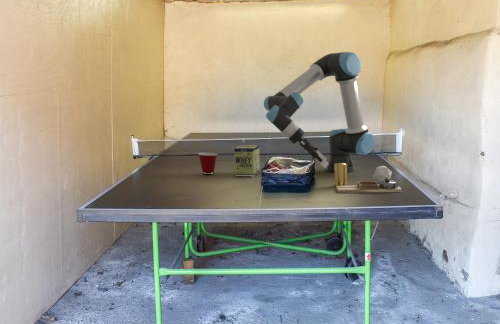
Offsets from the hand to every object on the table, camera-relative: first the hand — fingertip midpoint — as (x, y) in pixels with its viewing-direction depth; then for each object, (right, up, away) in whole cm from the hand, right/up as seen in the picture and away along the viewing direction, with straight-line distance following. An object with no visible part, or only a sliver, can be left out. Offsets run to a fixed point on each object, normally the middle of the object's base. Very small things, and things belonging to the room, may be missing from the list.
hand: (325, 163), depth 254 cm
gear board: (+18, -12, -8) cm, 23 cm away
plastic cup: (-59, -6, +45) cm, 75 cm away
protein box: (-37, -6, +41) cm, 55 cm away
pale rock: (+29, -9, +8) cm, 31 cm away
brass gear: (+7, -11, +2) cm, 13 cm away
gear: (+27, -11, -9) cm, 30 cm away
